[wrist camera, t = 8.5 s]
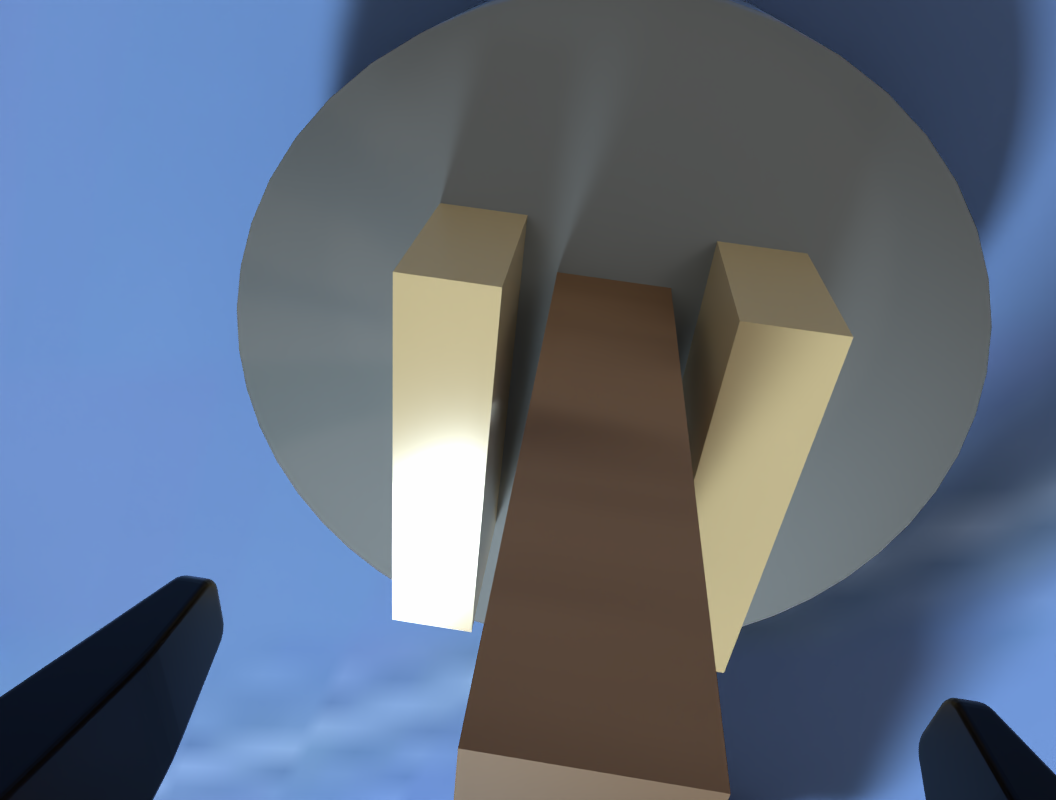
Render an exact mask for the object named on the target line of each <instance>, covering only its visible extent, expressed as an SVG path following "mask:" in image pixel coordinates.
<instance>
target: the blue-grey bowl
mask: <svg viewBox="0 0 1056 800" xmlns="http://www.w3.org/2000/svg"><path fill="white" fill-rule="evenodd" d="M557 272H560V273H567V274H574V275H581V276H588V277H596V278H603V279H610V280H617V281H624V282H631V283H639V284H646V285H653V286H660V287H667V288H671V292H672V301H673V309H674V318H675V326H676V335H677V343H678V351H679V360H680V368H681V377H682V385H683V394H684V402H685V411H686V419H687V428H688V436H689V445H690V453H691V462H692V470H693V479H694V487H695V496H696V504H697V513H698V521H699V530H700V538H701V547H702V555H703V564H704V572H705V581H706V589H707V598H708V606H709V615H710V623H711V631H712V640H713V648H714V657H715V665H716V672H722V673H724V672H725V669H726V666H727V664H728V661H729V659H730V656H731V653H732V651H733V648H734V646H735V643H736V640H737V638H738V635H739V633H740V630H741V627H743V626H746V625H749V624H752V623H754V622H757V621H760V620H763V619H766V618H769V617H772V616H775V615H777V614H779V613H781V612H784V611H786V610H788V609H790V608H792V607H794V606H796V605H799V604H801V603H803V602H805V601H807V600H809V599H812V598H813V597H815V596H817V595H818V594H820V593H822V592H823V591H825V590H827V589H828V588H830V587H832V586H833V585H835V584H837V583H839V582H840V581H842V580H844V579H845V578H847V577H848V576H849V575H851V574H852V573H853V572H855V571H856V570H857V569H859V568H860V567H861V566H863V565H864V564H865V563H867V562H868V561H869V560H871V559H872V558H873V557H875V556H876V555H877V554H879V553H880V552H881V551H882V550H883V549H884V548H885V547H886V546H887V545H888V544H889V543H890V542H891V541H892V540H893V539H894V538H895V537H896V536H898V535H899V534H900V533H901V532H902V531H903V530H904V529H905V528H906V527H907V526H908V525H909V524H910V523H911V521H912V520H913V519H914V518H915V517H916V515H917V514H918V513H919V512H920V510H921V509H922V508H923V507H924V505H925V504H926V503H927V502H928V501H929V499H930V498H931V497H932V496H933V494H934V493H935V492H936V490H937V489H938V487H939V485H940V484H941V482H942V481H943V479H944V477H945V476H946V474H947V472H948V471H949V469H950V468H951V466H952V464H953V463H954V461H955V459H956V458H957V456H958V454H959V452H960V449H961V447H962V445H963V443H964V440H965V438H966V436H967V433H968V431H969V429H970V427H971V424H972V422H973V420H974V417H975V415H976V411H977V407H978V403H979V400H980V396H981V392H982V388H983V385H984V381H985V377H986V373H987V365H988V356H989V346H990V336H991V310H990V294H989V278H988V274H987V270H986V266H985V261H984V257H983V253H982V249H981V244H980V240H979V236H978V232H977V228H976V226H975V224H974V221H973V219H972V217H971V214H970V212H969V210H968V207H967V205H966V203H965V200H964V198H963V196H962V193H961V191H960V189H959V186H958V184H957V182H956V180H955V178H954V177H953V175H952V174H951V172H950V171H949V169H948V168H947V166H946V165H945V163H944V161H943V160H942V158H941V157H940V155H939V154H938V152H937V151H936V149H935V147H934V146H933V144H932V143H931V141H930V140H929V138H928V137H927V135H926V134H925V133H924V132H923V131H922V130H921V129H920V128H919V127H918V125H917V124H916V123H915V122H914V121H913V120H912V119H911V118H910V117H909V116H908V114H907V113H906V112H905V111H904V110H903V109H902V108H901V107H900V106H899V105H898V104H897V102H896V101H895V100H894V99H893V98H892V97H891V96H890V95H889V94H888V93H887V92H886V91H885V90H883V89H882V88H881V87H879V86H878V85H877V84H876V83H874V82H873V81H872V80H871V79H869V78H868V77H867V76H865V75H864V74H863V73H862V72H860V71H859V70H858V69H857V68H855V67H854V66H853V65H851V64H850V63H849V62H848V61H846V60H845V59H844V58H843V57H841V56H840V55H838V54H836V53H835V52H833V51H831V50H830V49H828V48H826V47H825V46H823V45H821V44H820V43H818V42H816V41H815V40H813V39H811V38H810V37H808V36H806V35H805V34H803V33H801V32H800V31H798V30H796V29H795V28H793V27H791V26H790V25H788V24H786V23H784V22H783V21H781V20H779V19H777V18H775V17H774V16H772V15H770V14H768V13H766V12H765V11H763V10H761V9H759V8H757V7H756V6H754V5H752V4H750V3H748V2H745V1H743V0H489V1H486V2H484V3H482V4H479V5H477V6H475V7H472V8H470V9H468V10H466V11H464V12H462V13H460V14H458V15H456V16H454V17H452V18H450V19H448V20H446V21H444V22H442V23H440V24H438V25H436V26H434V27H432V28H430V29H428V30H426V31H424V32H422V33H420V34H418V35H417V36H415V37H413V38H412V39H410V40H408V41H407V42H405V43H404V44H402V45H400V46H399V47H397V48H395V49H394V50H392V51H391V52H389V53H387V54H386V55H384V56H382V57H381V58H379V59H377V60H376V61H374V62H373V63H371V64H370V65H369V66H367V67H366V68H365V69H364V70H363V71H362V72H360V73H359V74H358V75H357V76H356V77H354V78H353V79H352V80H351V81H350V82H349V83H347V84H346V85H345V86H344V87H343V88H342V89H340V90H339V91H338V92H337V93H336V94H334V95H333V96H332V97H331V98H330V99H329V100H328V101H327V102H326V103H325V104H324V106H323V107H322V108H321V109H320V110H319V111H318V113H317V114H316V115H315V116H314V117H313V118H312V120H311V121H310V122H309V123H308V124H307V125H306V126H305V128H304V129H303V130H302V131H301V132H300V133H299V135H298V136H297V137H296V138H295V140H294V141H293V143H292V145H291V146H290V148H289V149H288V151H287V153H286V154H285V156H284V157H283V159H282V161H281V162H280V164H279V166H278V167H277V169H276V170H275V172H274V174H273V175H272V177H271V178H270V180H269V183H268V185H267V187H266V190H265V192H264V194H263V197H262V199H261V202H260V204H259V206H258V209H257V211H256V213H255V216H254V218H253V221H252V223H251V227H250V231H249V235H248V239H247V243H246V247H245V251H244V255H243V259H242V263H241V270H240V280H239V291H238V302H237V319H238V337H239V351H240V356H241V361H242V366H243V371H244V377H245V382H246V387H247V391H248V394H249V396H250V399H251V402H252V405H253V408H254V411H255V414H256V417H257V420H258V423H259V426H260V428H261V430H262V432H263V434H264V436H265V438H266V440H267V442H268V444H269V446H270V448H271V450H272V452H273V454H274V456H275V458H276V460H277V462H278V463H279V465H280V467H281V468H282V470H283V471H284V473H285V474H286V476H287V477H288V479H289V480H290V482H291V483H292V485H293V486H294V488H295V489H296V491H297V492H298V494H299V495H300V496H301V497H302V499H303V500H304V501H305V502H306V503H307V505H308V506H309V507H310V508H311V509H312V511H313V512H314V513H315V514H316V515H317V517H318V518H319V519H320V520H321V521H322V522H323V523H324V524H325V525H326V526H327V527H328V528H329V529H330V530H331V531H332V532H333V533H334V534H335V535H336V536H337V537H338V538H339V539H340V540H341V541H342V542H343V543H344V544H345V545H346V546H347V547H348V548H350V549H351V550H352V551H353V552H355V553H356V554H357V555H358V556H360V557H361V558H362V559H364V560H365V561H366V562H367V563H369V564H370V565H371V566H372V567H374V568H375V569H376V570H378V571H379V572H381V573H382V574H384V575H385V576H387V577H388V578H390V579H392V619H393V620H400V621H406V622H412V623H418V624H424V625H431V626H437V627H443V628H449V629H455V630H462V631H468V632H472V627H473V623H474V621H477V622H480V623H483V624H484V621H485V617H486V612H487V607H488V602H489V597H490V593H491V588H492V583H493V578H494V573H495V569H496V564H497V559H498V554H499V549H500V545H501V540H502V535H503V530H504V525H505V521H506V516H507V511H508V506H509V501H510V497H511V492H512V487H513V482H514V477H515V473H516V468H517V463H518V458H519V453H520V449H521V444H522V439H523V434H524V429H525V424H526V420H527V415H528V410H529V405H530V400H531V396H532V391H533V386H534V381H535V376H536V372H537V367H538V362H539V357H540V352H541V348H542V343H543V338H544V333H545V328H546V324H547V319H548V314H549V309H550V304H551V300H552V295H553V290H554V285H555V280H556V276H557Z"/></svg>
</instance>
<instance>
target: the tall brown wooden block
mask: <svg viewBox="0 0 1056 800" xmlns="http://www.w3.org/2000/svg"><path fill="white" fill-rule="evenodd" d="M730 794H731V793H730V784H729V776H728V767H727V759H726V750H725V742H724V733H723V725H722V716H721V708H720V699H719V691H718V682H717V674H716V665H715V657H714V648H713V640H712V631H711V623H710V615H709V606H708V598H707V589H706V581H705V572H704V564H703V555H702V547H701V538H700V530H699V521H698V513H697V504H696V496H695V487H694V479H693V470H692V462H691V453H690V445H689V436H688V428H687V419H686V411H685V402H684V394H683V385H682V377H681V368H680V360H679V351H678V343H677V335H676V326H675V318H674V309H673V301H672V292H671V288H667V287H660V286H653V285H646V284H639V283H631V282H624V281H617V280H610V279H603V278H596V277H588V276H581V275H574V274H567V273H560V272H557V276H556V280H555V285H554V290H553V295H552V300H551V304H550V309H549V314H548V319H547V324H546V328H545V333H544V338H543V343H542V348H541V352H540V357H539V362H538V367H537V372H536V376H535V381H534V386H533V391H532V396H531V400H530V405H529V410H528V415H527V420H526V424H525V429H524V434H523V439H522V444H521V449H520V453H519V458H518V463H517V468H516V473H515V477H514V482H513V487H512V492H511V497H510V501H509V506H508V511H507V516H506V521H505V525H504V530H503V535H502V540H501V545H500V549H499V554H498V559H497V564H496V569H495V573H494V578H493V583H492V588H491V593H490V597H489V602H488V607H487V612H486V617H485V621H484V626H483V631H482V636H481V641H480V645H479V650H478V655H477V660H476V665H475V669H474V674H473V679H472V684H471V689H470V694H469V698H468V703H467V708H466V713H465V718H464V722H463V727H462V732H461V737H460V742H459V746H458V755H457V767H456V779H455V791H454V800H728V799H729V797H730Z"/></svg>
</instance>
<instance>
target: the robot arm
mask: <svg viewBox="0 0 1056 800" xmlns="http://www.w3.org/2000/svg"><path fill="white" fill-rule="evenodd" d="M223 625H224V624H223V617H222V612H221V606H220V601H219V596H218V590H217V586H216V584H215V583H214V582H213V581H212V580H210V579H206V578H200V577H194V576H180V577H177V578H175V579H174V580H172V581H171V582H169V583H168V584H166V585H165V586H163V587H162V588H160V589H159V590H157V591H156V592H154V593H153V594H151V595H150V596H148V597H147V598H145V599H144V600H143V601H141V602H140V603H138V604H137V605H135V606H134V607H132V608H131V609H129V610H128V611H126V612H125V613H123V614H122V615H120V616H119V617H117V618H116V619H115V620H113V621H112V622H110V623H109V624H107V625H106V626H104V627H103V628H101V629H100V630H98V631H97V632H95V633H94V634H92V635H91V636H89V637H88V638H86V639H85V640H84V641H82V642H81V643H79V644H78V645H76V646H75V647H73V648H72V649H70V650H69V651H67V652H66V653H64V654H63V655H61V656H60V657H58V658H57V659H55V660H54V661H53V662H51V663H50V664H48V665H47V666H45V667H44V668H42V669H41V670H39V671H38V672H36V673H35V674H33V675H32V676H30V677H29V678H27V679H26V680H25V681H23V682H22V683H20V684H19V685H17V686H16V687H14V688H13V689H11V690H10V691H8V692H7V693H5V694H4V695H2V696H1V697H0V800H153V798H154V797H155V795H156V793H157V791H158V789H159V787H160V785H161V783H162V781H163V779H164V777H165V775H166V773H167V771H168V769H169V767H170V765H171V763H172V761H173V759H174V757H175V754H176V752H177V749H178V747H179V745H180V742H181V740H182V738H183V735H184V733H185V730H186V728H187V725H188V722H189V720H190V717H191V715H192V712H193V710H194V707H195V705H196V702H197V700H198V697H199V695H200V692H201V690H202V687H203V685H204V682H205V680H206V677H207V675H208V672H209V670H210V667H211V665H212V662H213V659H214V657H215V654H216V652H217V649H218V647H219V644H220V642H221V638H222V634H223ZM919 760H920V766H921V772H922V778H923V785H924V791H925V797H926V800H1056V775H1055V774H1054V773H1053V772H1052V770H1051V769H1050V768H1049V767H1048V766H1047V765H1046V764H1045V763H1044V762H1043V761H1042V760H1041V759H1040V758H1039V757H1038V756H1037V755H1036V754H1035V753H1034V752H1033V751H1032V750H1031V749H1030V748H1029V747H1028V746H1027V745H1026V744H1025V743H1024V742H1023V740H1022V739H1021V738H1020V737H1019V736H1018V735H1017V734H1016V733H1015V732H1014V731H1013V730H1012V729H1011V728H1010V727H1009V726H1008V725H1007V724H1006V723H1005V722H1004V721H1003V720H1002V719H1001V718H1000V717H999V716H998V715H997V714H996V713H995V711H993V710H992V709H991V708H990V707H989V706H987V705H986V704H984V703H981V702H977V701H971V700H964V699H958V698H950V699H948V700H946V701H944V703H943V704H942V705H941V707H940V708H939V710H938V711H937V713H936V714H935V716H934V717H933V719H932V720H931V722H930V723H929V725H928V726H927V728H926V729H925V731H924V732H923V734H922V736H921V739H920V742H919Z"/></svg>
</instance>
